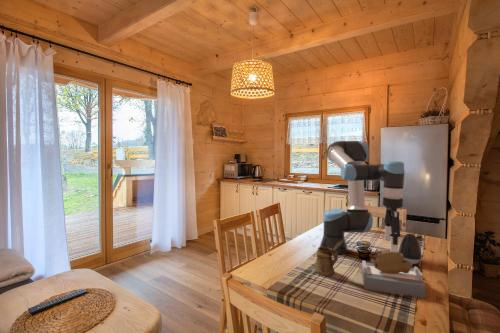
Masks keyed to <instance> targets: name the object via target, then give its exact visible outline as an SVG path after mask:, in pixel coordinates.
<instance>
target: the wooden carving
mask: <svg viewBox="0 0 500 333" xmlns="http://www.w3.org/2000/svg"><path fill="white" fill-rule="evenodd" d="M370 263H374V267H375V268H376V269H378V270H380V271H382V272H384V273H389V274H395V273H399V272H403V273H409V270H410V269H411V268H413V265H414V264H411V263H410V262H409V261H407V260H404V256H403V254H402V253H399V251H398V252H391V251H390V249H386V250H385V249H384V250H381V251H377V252H376V257H375V258H373V257H371V258H370Z"/></svg>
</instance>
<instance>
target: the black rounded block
mask: <svg viewBox="0 0 500 333" xmlns="http://www.w3.org/2000/svg"><path fill="white" fill-rule="evenodd" d="M422 238H423V236H422V235H417V236H416V235H415V234H414V233H410V232H409V233H406V234H404V235H403V237H402V239H401V241H400V244H399V246H398V253H402V254H403V256H404V260H407V261H409V262H410V263H411V264H412V265H417V264H418V263H420V261H421V259H422V256H423V255H422V249H421V245H420V242H419V239H422Z"/></svg>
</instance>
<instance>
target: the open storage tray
mask: <svg viewBox="0 0 500 333" xmlns="http://www.w3.org/2000/svg"><path fill="white" fill-rule="evenodd" d="M360 269H361V271H360V273H361V278H362V282H363V287H364V290H368V291H369V290H370V291H377V292H382V291H383V293H389V292H390V294H395V293H399V294H398V295H402V294H405V295H404V296H408V295H412V296H411V297H415V296H417V297H416V298H421V299H422V298H424V299H426V292H427V291H426V288H427V286H426V284H425V282H424V280H423V277H424V275H423V273H422V272H421V270H420V269H419V268H418V266H414V267H411V269H410V270H409V273H403V272H399V273H395V274H389V273H384V272H382V271H380V270H378V269H376V268H375V267H374V263H372V262H366V260H362V261H361V268H360Z"/></svg>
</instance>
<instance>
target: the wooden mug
mask: <svg viewBox="0 0 500 333" xmlns="http://www.w3.org/2000/svg"><path fill="white" fill-rule="evenodd" d="M342 242H343V240H340V241H339V242H338V243H336V244H335V245H334V247H333V248H332V249H330V248H328V247H320V246H319V247H318V248H317V251H316V260H315V265H314V269H313V271H314V273H316V274H317V275H319V276H324V277H326V276H331V275H333V274H334V273H335V268H334V265H335V264H336V263H337V262H338V260H339V256H338V255H339V254H337V251H336V249H337V248H338V247H339V246H340V244H341V243H342Z"/></svg>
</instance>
